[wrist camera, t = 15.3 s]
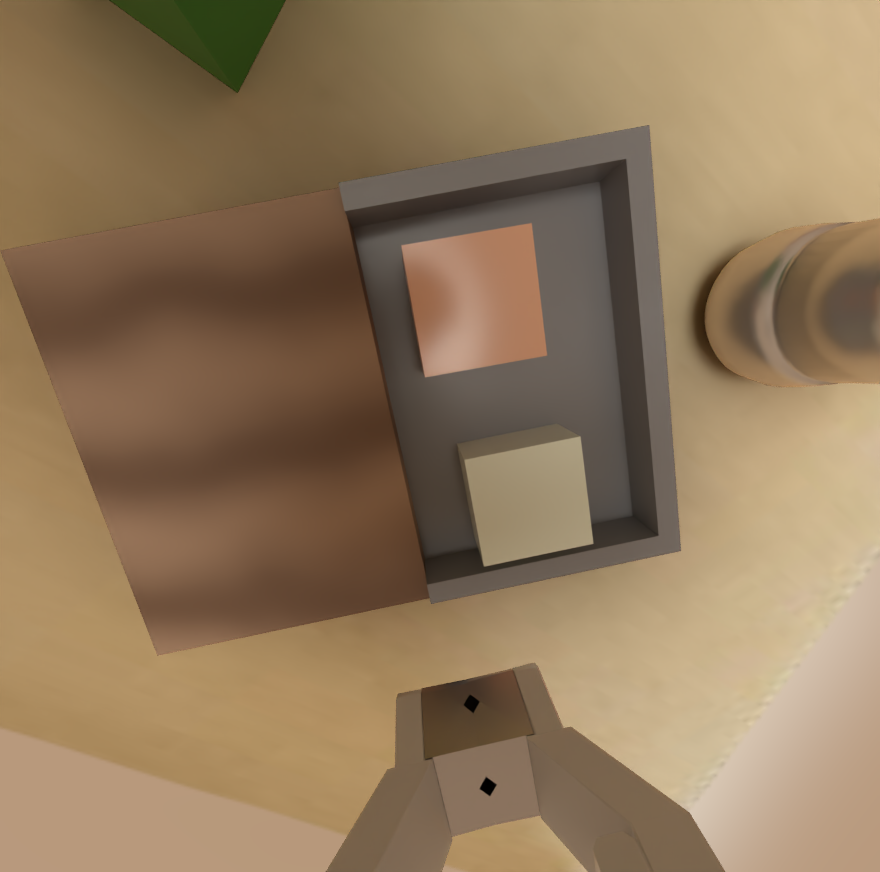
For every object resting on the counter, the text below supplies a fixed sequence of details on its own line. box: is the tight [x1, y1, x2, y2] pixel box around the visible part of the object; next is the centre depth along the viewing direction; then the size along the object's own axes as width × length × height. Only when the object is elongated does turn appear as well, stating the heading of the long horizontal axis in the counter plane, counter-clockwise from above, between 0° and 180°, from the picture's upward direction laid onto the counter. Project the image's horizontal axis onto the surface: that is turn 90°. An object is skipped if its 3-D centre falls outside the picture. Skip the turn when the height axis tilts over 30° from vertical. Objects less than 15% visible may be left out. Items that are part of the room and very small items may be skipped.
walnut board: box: [0, 188, 430, 655], centre depth 20 cm, size 18×13×2 cm
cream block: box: [457, 424, 593, 567], centre depth 20 cm, size 5×5×3 cm
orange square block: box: [401, 223, 547, 377], centre depth 18 cm, size 5×5×3 cm
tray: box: [339, 125, 681, 604], centre depth 20 cm, size 18×12×3 cm, turn 11°
